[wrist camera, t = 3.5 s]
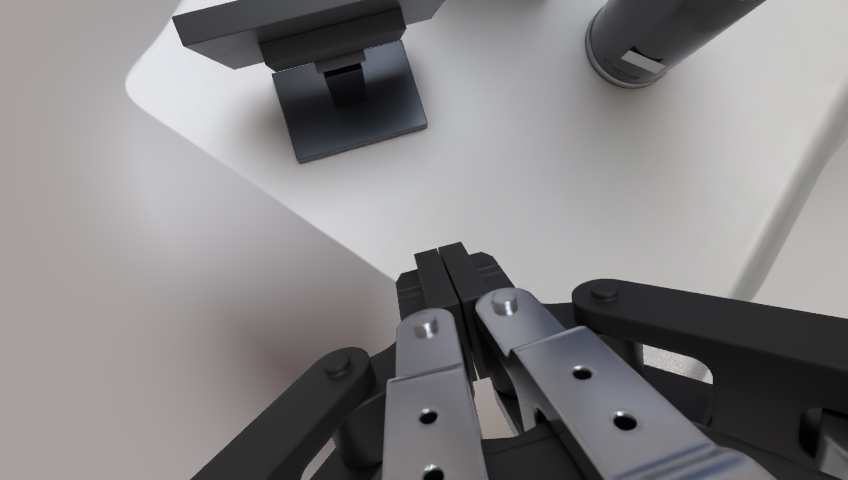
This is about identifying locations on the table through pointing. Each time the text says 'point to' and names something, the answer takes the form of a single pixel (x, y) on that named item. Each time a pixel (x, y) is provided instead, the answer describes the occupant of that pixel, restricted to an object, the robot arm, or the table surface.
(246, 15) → the panel
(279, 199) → the table surface
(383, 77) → the monitor stand
